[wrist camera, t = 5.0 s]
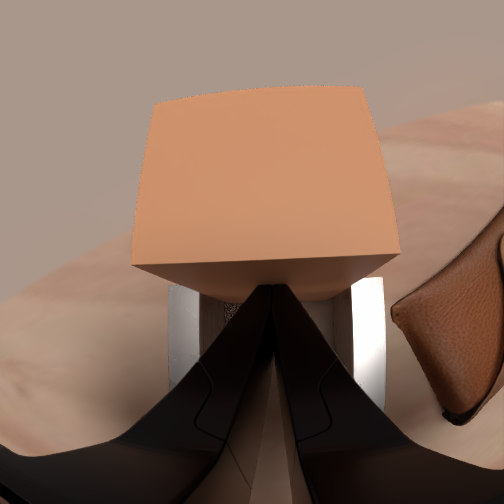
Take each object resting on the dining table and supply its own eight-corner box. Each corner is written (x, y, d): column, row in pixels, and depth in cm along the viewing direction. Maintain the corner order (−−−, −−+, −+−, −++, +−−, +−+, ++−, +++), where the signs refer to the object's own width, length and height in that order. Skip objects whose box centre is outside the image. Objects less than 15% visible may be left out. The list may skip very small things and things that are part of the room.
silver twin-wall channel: (354, 421, 13) (379, 458, 8) (207, 424, 14) (175, 459, 9) (353, 292, 15) (382, 276, 10) (204, 297, 15) (168, 285, 11)
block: (327, 300, 14) (400, 253, 5) (229, 303, 15) (130, 264, 5) (322, 224, 15) (361, 86, 6) (229, 228, 16) (154, 104, 6)
